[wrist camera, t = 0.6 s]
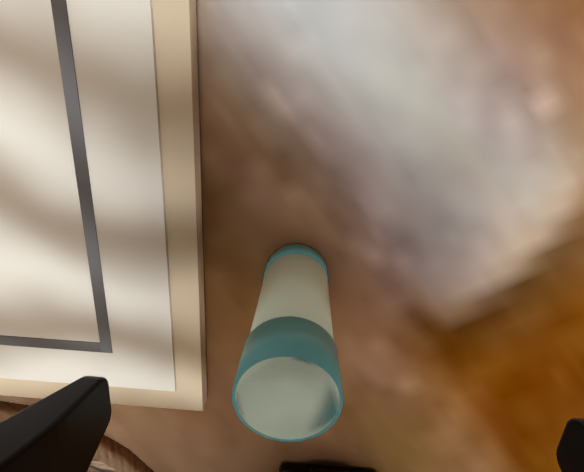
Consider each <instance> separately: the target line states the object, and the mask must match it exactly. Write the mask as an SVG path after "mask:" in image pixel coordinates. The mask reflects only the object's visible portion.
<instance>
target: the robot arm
mask: <svg viewBox="0 0 584 472" xmlns="http://www.w3.org/2000/svg"><path fill="white" fill-rule="evenodd" d="M110 417H111V402H110V393H109V384H108V381H107V379H106V378H104V377H98V376H84V377H81V378H79V379H78V380H76V381H74V382H72V383H70V384H69V385H67V386H65V387H63V388H61V389H60V390H58V391H56V392H54V393H52V394H51V395H49V396H47V397H45V398H43V399H42V400H40V401H38V402H36V403H34V404H33V405H31V406H29V407H27V408H26V409H24V410H22V411H20V412H18V413H17V414H15V415H13V416H11V417H9V418H8V419H6V420H4V421H2V422H0V472H87V471H88V469H89V466H90V464H91V462H92V460H93V457H94V455H95V453H96V451H97V449H98V446H99V444H100V442H101V440H102V437H103V435H104V433H105V431H106V428H107V426H108V424H109V421H110ZM556 455H557V461H558V464H559V466H560V469H561V471H562V472H584V419H580V418H572V419H570V420H569V421H568V422H567V424H566V426H565V429H564V432H563V434H562V437H561V439H560V442H559V445H558V447H557V453H556ZM279 472H375V471H371V470H358V469H346V468H333V467H321V466H309V465H296V464H283V465H281V466H280V468H279Z"/></svg>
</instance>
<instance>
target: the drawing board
mask: <svg viewBox="0 0 584 472" xmlns="http://www.w3.org/2000/svg"><path fill="white" fill-rule="evenodd" d="M84 376H98V377H104V378H106V379H107V381H108V384H109V393H110V402H111V404H120V405H133V406H145V407H158V408H171V409H184V410H197V411H203V409H204V406H205V403H206V400H207V376H206V340H205V305H204V269H203V233H202V197H201V161H200V126H199V90H198V54H197V18H196V0H0V395H4V396H17V397H30V398H45V397H47V396H49V395H51V394H52V393H54V392H56V391H58V390H60V389H61V388H63V387H65V386H67V385H69V384H70V383H72V382H74V381H76V380H78V379H79V378H81V377H84Z"/></svg>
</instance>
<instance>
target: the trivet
mask: <svg viewBox="0 0 584 472" xmlns="http://www.w3.org/2000/svg"><path fill="white" fill-rule="evenodd" d="M27 407H29V406H28V405H21V404H15V403H8V402H2V401H0V422H2V421H4V420H6V419H8V418H9V417H11V416H13V415H15V414H17V413H18V412H20V411H22V410H24V409H26V408H27ZM87 472H154V471H152V470H151V469H150V468H149V467H148V466H147V465H146V464H145V463H143V462H142V461H141V460H140V459H139V458H138V457H137V456H136V455H135V454H133V453H132V452H131V451H130V450H129V449H127V448H126V447H124V446H122V445H120V444H119V443H117V442H115V441H114V440H112V439H110V438H108V437H107V436H105V435H103V437H102V440H101V442H100V444H99V446H98V449H97V451H96V453H95V455H94V457H93V460H92V462H91V464H90V466H89V469H88V471H87Z"/></svg>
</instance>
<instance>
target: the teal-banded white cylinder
mask: <svg viewBox="0 0 584 472" xmlns="http://www.w3.org/2000/svg"><path fill="white" fill-rule="evenodd" d="M232 403H233V407H234V410H235V412H236V414H237V416H238V417H239V419H240V420H241V421H242V422H243V423H244V424H245V425H246V426H247V427H248V428H249V429H251V430H252V431H253V432H255V433H257V434H258V435H261V436H263V437H265V438H268V439H271V440H276V441H282V442H298V441H304V440H308V439H311V438H314V437H316V436H318V435H320V434H322V433H324V432H325V431H327V430H328V429H329V428H330V427H331V426H332V425H333V424H334V423H335V422H336V420H337V419H338V417H339V415H340V413H341V410H342V406H343V394H342V385H341V377H340V368H339V359H338V351H337V347H336V344H335V342H334V339H333V330H332V320H331V311H330V301H329V292H328V273H327V266H326V263H325V261H324V259H323V257H322V256H321V255H320V254H319V253H318V252H317V251H316V250H315V249H313V248H311V247H309V246H306V245H303V244H289V245H286V246H283V247H281V248H279V249H278V250H276V251H275V252H274V253H273V254H272V255H271V256H270V258H269V260H268V262H267V265H266V269H265V272H264V276H263V284H262V288H261V292H260V296H259V300H258V304H257V308H256V312H255V316H254V320H253V324H252V328H251V331H250V334H249V336H248V337H247V339H246V341H245V344H244V347H243V351H242V355H241V359H240V362H239V366H238V370H237V374H236V377H235V381H234V385H233V389H232Z"/></svg>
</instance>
